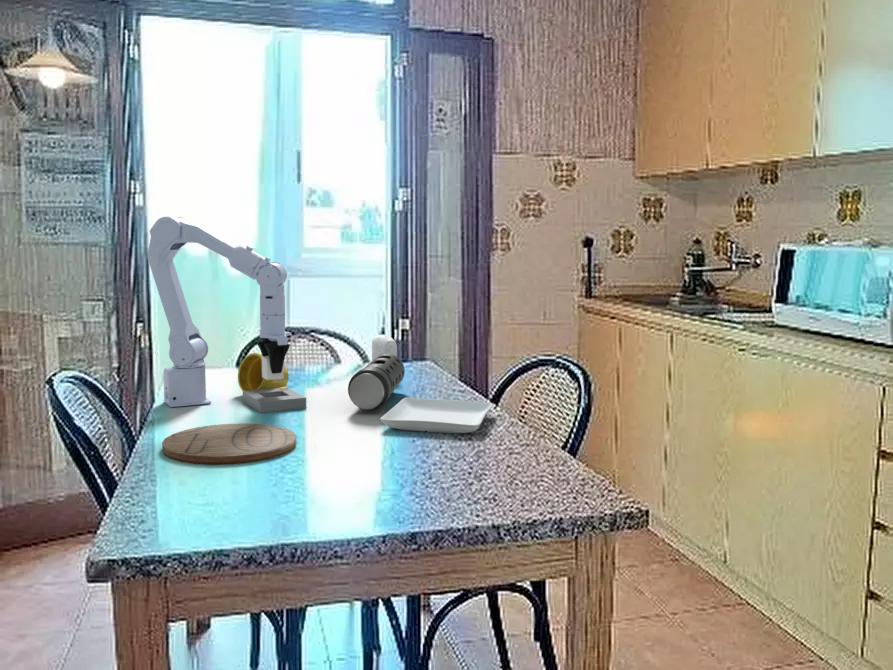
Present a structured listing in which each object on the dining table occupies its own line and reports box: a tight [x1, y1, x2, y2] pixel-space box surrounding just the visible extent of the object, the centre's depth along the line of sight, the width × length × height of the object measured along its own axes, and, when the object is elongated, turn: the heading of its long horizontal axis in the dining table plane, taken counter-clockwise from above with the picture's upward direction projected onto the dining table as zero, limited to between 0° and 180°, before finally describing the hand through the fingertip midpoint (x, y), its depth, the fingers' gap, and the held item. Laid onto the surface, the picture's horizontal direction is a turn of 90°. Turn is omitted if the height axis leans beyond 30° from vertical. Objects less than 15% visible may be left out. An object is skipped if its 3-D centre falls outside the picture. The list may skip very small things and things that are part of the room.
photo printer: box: [371, 334, 398, 365], centre depth 231 cm, size 10×4×12 cm, turn 28°
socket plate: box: [242, 386, 307, 414], centre depth 196 cm, size 11×14×3 cm
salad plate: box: [380, 397, 494, 434], centre depth 180 cm, size 21×21×3 cm
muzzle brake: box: [347, 354, 406, 411], centre depth 199 cm, size 10×28×10 cm, turn 174°
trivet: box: [161, 422, 297, 466], centre depth 159 cm, size 25×25×2 cm
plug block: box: [262, 356, 285, 380], centre depth 195 cm, size 4×4×5 cm
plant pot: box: [237, 352, 290, 392], centre depth 209 cm, size 10×10×10 cm
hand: (273, 371), depth 196 cm, fingers closed on plug block, 4 cm apart
